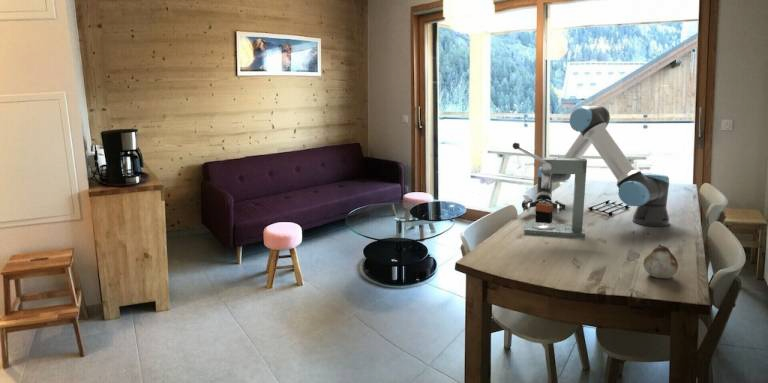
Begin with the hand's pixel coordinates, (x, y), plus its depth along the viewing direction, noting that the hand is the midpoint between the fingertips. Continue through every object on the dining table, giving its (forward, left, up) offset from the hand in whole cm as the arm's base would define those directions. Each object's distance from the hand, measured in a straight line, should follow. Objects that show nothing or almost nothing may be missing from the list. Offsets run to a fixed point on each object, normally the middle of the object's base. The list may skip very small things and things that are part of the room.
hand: (543, 209), depth 233 cm
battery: (-1, +1, -6) cm, 6 cm away
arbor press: (-2, +15, -6) cm, 17 cm away
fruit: (-39, +61, -6) cm, 72 cm away
